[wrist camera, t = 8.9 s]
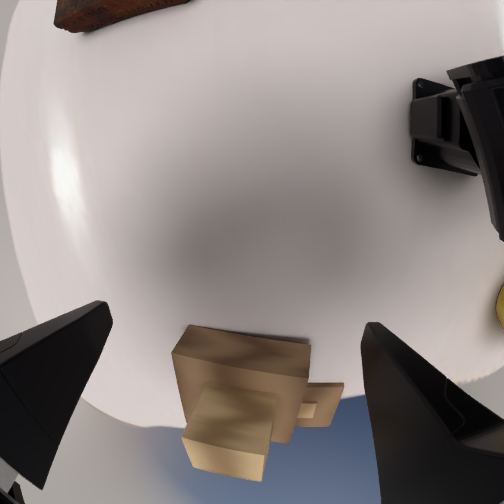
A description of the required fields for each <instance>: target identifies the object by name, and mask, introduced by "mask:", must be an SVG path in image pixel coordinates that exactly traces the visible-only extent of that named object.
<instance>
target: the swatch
mask: <svg viewBox="0 0 504 504" xmlns="http://www.w3.org/2000/svg"><path fill="white" fill-rule="evenodd" d="M343 389H344V383H307V386H306V390H305V393H304V397H303V400H302V403H301V407H300V410H299V414H298V417H297V420H296V423H295V426H297V427H298V426H299V427H326V426H330V423H331V421H332V419H333V416H334V413H335V411H336V408H337V406H338V403H339V400H340V398H341V395H342V392H343Z"/></svg>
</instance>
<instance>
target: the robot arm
mask: <svg viewBox="0 0 504 504" xmlns="http://www.w3.org/2000/svg"><path fill="white" fill-rule="evenodd" d="M446 72H447V74H448V76H449V78H450V80H451V79H452V81H453V83H454V85H455V88H456V89H454V88H451V87H448V86H445V85H442V84H439V83H436V82H432V81H429V80H425V79H422V78H418V79H415V80H414V81H413V101H412V102H411V135H412V137H413V141H412V161H413V162H414V163H415V164H418V165H423V166H428V167H434V168H439V169H444V170H449V171H453V172H458V173H462V174H467V175H471V176H477V175H478V174H480V175H482V178H483V182H484V186H485V191H486V195H487V200H488V206H489V211H490V217H491V223H492V224H493V226H494V227H495V229H496V231H497V232H498V233H499V238H500V240H502V241H503V242H504V55H503V56H499V57H495V58H491V59H487V60H483V61H479V62H475V63H471V64H468V65H464V66H461V67H457V68H454V69H451V70H448V71H446ZM419 82H420V83H421V84H422V88H421V87H419V85H418V83H419ZM417 155H420V160H419V161H418V160H417ZM112 325H113V319H112V316H111V313H110V309H109V306H108V304H107V302H105V301H99V300H97V301H94V302H92V303H89V304H87V305H85V306H82V307H80V308H77V309H75V310H73V311H70V312H68V313H65V314H63V315H61V316H58V317H56V318H54V319H51V320H49V321H47V322H44V323H42V324H40V325H37V326H35V327H33V328H31V329H28V330H26V331H24V332H21V333H19V334H17V335H14V336H12V337H9V338H7V339H4V340H2V341H0V504H25V503H24V500H23V496H22V492H21V489H20V485H19V484H18V483H17V482H16V481H15V479H16V477H17V475H18V474H20V475H21V476H22V477H24V478H25V479H26V480H28V481H29V482H31V483H32V484H33V485H35V486H36V487H38V488H39V489H41V490H42V489H43V487H44V485H45V482H46V479H47V476H48V473H49V471H50V468H51V465H52V462H53V460H54V457H55V455H56V452H57V449H58V446H59V444H60V442H61V439H62V437H63V434H64V432H65V430H66V427H67V425H68V423H69V420H70V418H71V416H72V414H73V411H74V409H75V407H76V405H77V402H78V401H79V398H80V396H81V394H82V392H83V390H84V388H85V386H86V384H87V382H88V380H89V378H90V376H91V374H92V372H93V370H94V368H95V366H96V364H97V362H98V360H99V358H100V355H101V353H102V350H103V348H104V345H105V343H106V340H107V338H108V335H109V333H110V331H111V328H112ZM361 357H362V368H363V380H364V389H365V394H366V399H367V405H368V409H369V415H370V421H371V427H372V433H373V439H374V445H375V453H376V460H377V467H378V474H379V484H380V493H381V498H382V499H381V504H504V419H502V418H501V417H500V416H498V415H497V414H495V413H494V412H492V411H491V410H489V409H488V408H487V407H485V406H484V405H482V404H481V403H479V402H478V401H477V400H475V399H474V398H472V397H471V396H470V395H468V394H467V393H466V392H464V391H463V390H462V389H461V388H459V387H458V386H457V385H456V384H454V383H453V382H452V381H451V380H450V379H448V378H447V377H446V376H445V375H444V374H442V373H441V372H440V371H439V370H438V369H436V368H435V367H434V366H433V365H431V364H430V363H429V362H428V361H427V360H425V359H424V358H423V357H422V356H421V355H419V354H418V353H417V352H416V351H414V350H413V349H412V348H411V347H409V346H408V345H407V344H406V343H405V342H403V341H402V340H401V339H400V338H398V337H397V336H396V335H395V334H393V333H392V332H391V331H390V330H388V329H387V328H386V327H385V326H383V325H382V324H381V323H379V322H368V323H367V324H366V326H365V330H364V333H363V337H362V340H361Z"/></svg>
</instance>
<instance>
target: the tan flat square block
mask: <svg viewBox="0 0 504 504" xmlns="http://www.w3.org/2000/svg"><path fill="white" fill-rule="evenodd" d="M310 353H311V345H309V344H301V343H293V342H286V341H278V340H272V339H265V338H259V337H252V336H246V335H240V334H235V333H229V332H224V331H218V330H213V329H208V328H203V327H198V326H193V325H189V326H188V327H187V329H186V330H185V332H184V334H183V335H182V337H181V338H180V340H179V341H178V343H177V344H176V346H175V348H174V349H173V351H172V352H171V354H172V359H173V364H174V369H175V374H176V379H177V384H178V389H179V393H180V398H181V402H182V406H183V410H184V415H185V419H186V423H188V421H189V419H190V417H191V415H192V412H193V410H194V408H195V406H196V404H197V401H198V399H199V397H200V395H201V393H202V390H203V388H204V386H205V384H206V382H211V383H216V384H221V385H226V386H232V387H237V388H243V389H249V390H255V391H262V392H269V393H277V394H278V395H277V403H276V411H275V418H274V426H273V432H272V437H271V441H273V442H280V443H289V441H290V439H291V435H292V433H293V430H294V426H295V423H296V420H297V417H298V414H299V410H300V407H301V403H302V400H303V397H304V393H305V390H306V386H307V382H308V379H309V367H310Z"/></svg>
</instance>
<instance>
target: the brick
mask: <svg viewBox="0 0 504 504" xmlns="http://www.w3.org/2000/svg"><path fill="white" fill-rule="evenodd" d="M188 1H190V0H57V6H56V12H55V18H54V25H55V26H56V27H57V28H60V29H65V30H68V31H69V32H71V33H78V32H89V31H92V30H95V29H97V28H99V27H101V26H104V25H108V24H112V23H116V22H118V21H121V20H124V19H127V18H130V17H133V16H136V15H139V14H143V13H146V12H150V11H153V10H157V9H161V8H165V7H169V6H173V5H178V4H182V3H186V2H188Z"/></svg>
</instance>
